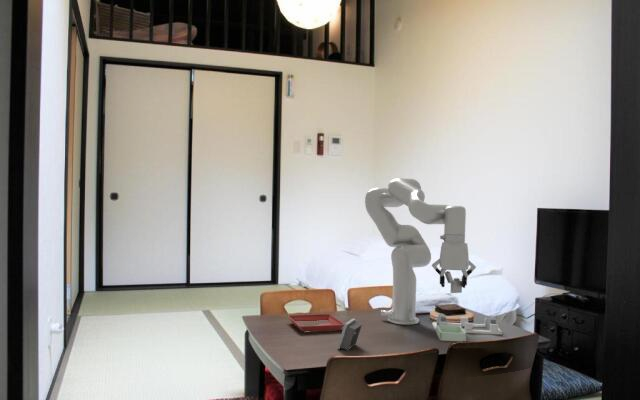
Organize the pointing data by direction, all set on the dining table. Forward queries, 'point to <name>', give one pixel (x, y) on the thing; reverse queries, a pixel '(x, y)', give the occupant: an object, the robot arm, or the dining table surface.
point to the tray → (450, 333)
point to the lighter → (454, 283)
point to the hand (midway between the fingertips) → (453, 286)
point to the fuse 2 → (490, 321)
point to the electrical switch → (349, 334)
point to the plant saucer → (334, 321)
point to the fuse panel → (469, 326)
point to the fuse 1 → (441, 318)
